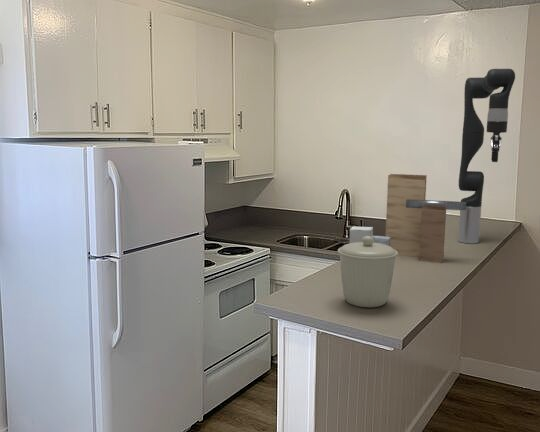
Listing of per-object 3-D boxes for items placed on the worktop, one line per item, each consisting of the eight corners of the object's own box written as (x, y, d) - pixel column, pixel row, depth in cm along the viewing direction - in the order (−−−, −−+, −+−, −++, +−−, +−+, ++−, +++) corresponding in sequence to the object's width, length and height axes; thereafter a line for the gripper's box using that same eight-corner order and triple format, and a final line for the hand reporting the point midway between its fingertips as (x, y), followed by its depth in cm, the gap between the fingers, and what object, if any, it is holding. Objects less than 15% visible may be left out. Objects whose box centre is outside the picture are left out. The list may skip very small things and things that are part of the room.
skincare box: (372, 266, 217) (374, 226, 215) (370, 270, 211) (371, 230, 209) (351, 264, 220) (352, 225, 217) (348, 268, 214) (349, 228, 211)
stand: (387, 250, 245) (390, 173, 240) (422, 252, 240) (426, 175, 235) (384, 253, 239) (388, 175, 233) (420, 256, 234) (425, 176, 228)
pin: (406, 206, 230) (406, 198, 229) (465, 209, 223) (466, 201, 223) (405, 208, 226) (406, 199, 226) (465, 211, 220) (466, 202, 219)
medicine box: (390, 257, 232) (390, 236, 231) (387, 259, 228) (388, 238, 227) (371, 255, 235) (372, 235, 234) (368, 257, 231) (369, 237, 230)
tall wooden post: (420, 256, 233) (423, 203, 229) (443, 258, 230) (446, 204, 226) (419, 260, 227) (421, 205, 223) (442, 262, 224) (445, 207, 220)
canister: (403, 311, 165) (406, 242, 162) (343, 313, 164) (345, 242, 160) (385, 293, 183) (388, 230, 179) (331, 294, 181) (333, 230, 178)
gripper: (487, 120, 230) (484, 160, 232) (487, 120, 217) (484, 162, 219) (506, 120, 227) (503, 160, 230) (508, 120, 214) (505, 162, 217)
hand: (494, 161), depth 225 cm, fingers open, 8 cm apart
